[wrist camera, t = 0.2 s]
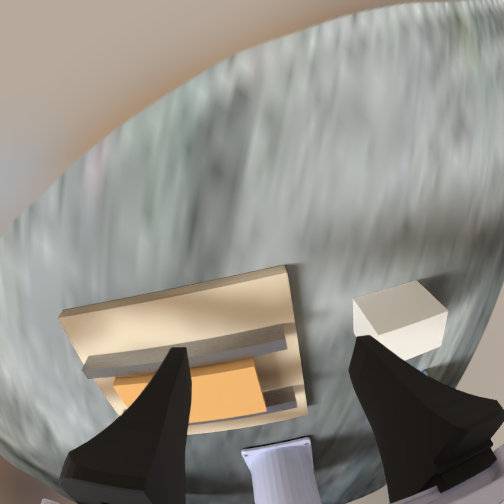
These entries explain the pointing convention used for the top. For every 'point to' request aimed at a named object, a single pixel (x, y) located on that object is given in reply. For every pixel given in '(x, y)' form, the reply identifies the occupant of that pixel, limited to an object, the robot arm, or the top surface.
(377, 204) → the top surface
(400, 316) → the block
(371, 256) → the top surface
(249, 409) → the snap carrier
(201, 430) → the rail board
